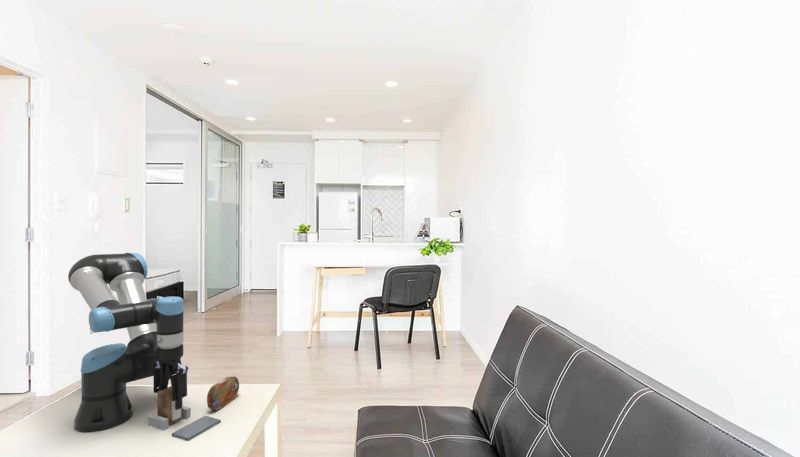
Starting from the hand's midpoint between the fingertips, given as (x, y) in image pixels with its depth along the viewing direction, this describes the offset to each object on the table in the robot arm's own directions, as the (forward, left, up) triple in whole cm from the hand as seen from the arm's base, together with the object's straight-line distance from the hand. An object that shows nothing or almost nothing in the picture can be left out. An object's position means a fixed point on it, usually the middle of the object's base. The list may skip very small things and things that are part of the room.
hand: (170, 416), depth 128 cm
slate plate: (+12, 0, -1) cm, 12 cm away
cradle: (0, 0, -1) cm, 1 cm away
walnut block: (0, 0, -1) cm, 1 cm away
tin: (+6, +16, -2) cm, 17 cm away
